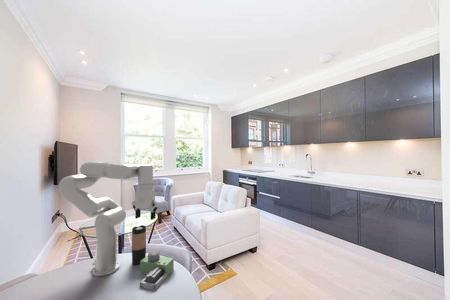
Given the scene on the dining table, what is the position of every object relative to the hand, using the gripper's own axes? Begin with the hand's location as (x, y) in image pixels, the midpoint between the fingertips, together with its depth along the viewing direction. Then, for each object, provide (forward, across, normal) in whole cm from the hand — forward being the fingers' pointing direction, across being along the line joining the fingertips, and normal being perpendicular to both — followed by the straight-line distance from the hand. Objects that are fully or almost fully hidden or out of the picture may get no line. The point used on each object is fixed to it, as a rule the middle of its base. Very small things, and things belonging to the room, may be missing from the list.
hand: (145, 218), depth 102 cm
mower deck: (+28, +6, -3) cm, 29 cm away
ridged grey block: (+28, +10, -6) cm, 31 cm away
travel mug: (+28, -10, +7) cm, 31 cm away
